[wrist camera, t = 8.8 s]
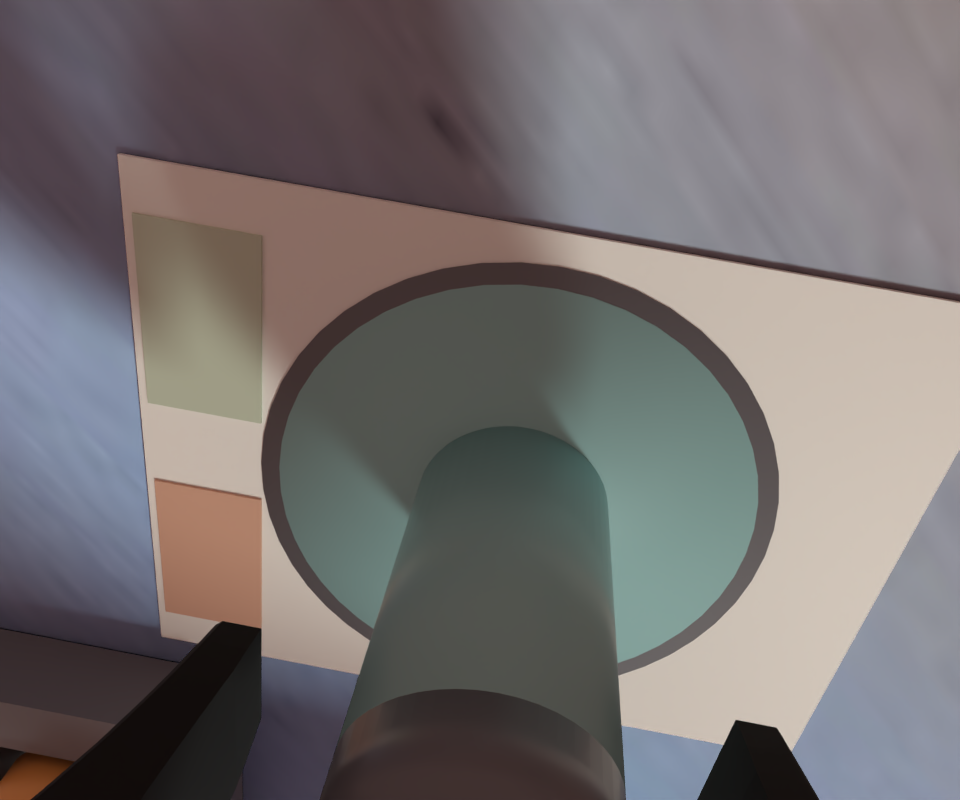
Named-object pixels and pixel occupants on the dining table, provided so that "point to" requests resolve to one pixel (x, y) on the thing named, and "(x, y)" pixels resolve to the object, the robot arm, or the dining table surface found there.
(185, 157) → the dining table surface
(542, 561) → the green capped cylinder
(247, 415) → the picture sheet
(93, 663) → the button housing
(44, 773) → the button
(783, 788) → the robot arm
